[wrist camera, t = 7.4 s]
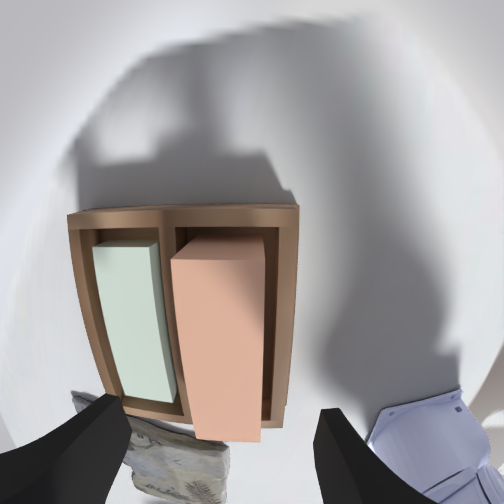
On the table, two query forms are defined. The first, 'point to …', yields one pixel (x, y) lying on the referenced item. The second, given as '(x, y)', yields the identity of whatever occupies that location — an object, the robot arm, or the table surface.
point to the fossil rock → (174, 463)
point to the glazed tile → (136, 316)
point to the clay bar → (222, 332)
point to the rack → (171, 242)
